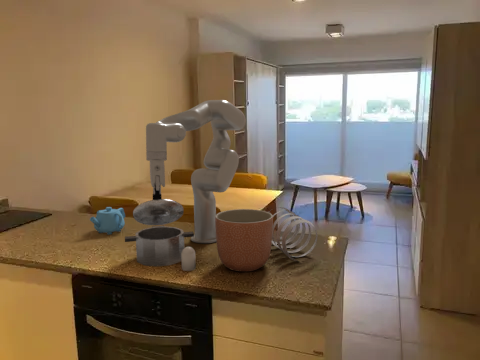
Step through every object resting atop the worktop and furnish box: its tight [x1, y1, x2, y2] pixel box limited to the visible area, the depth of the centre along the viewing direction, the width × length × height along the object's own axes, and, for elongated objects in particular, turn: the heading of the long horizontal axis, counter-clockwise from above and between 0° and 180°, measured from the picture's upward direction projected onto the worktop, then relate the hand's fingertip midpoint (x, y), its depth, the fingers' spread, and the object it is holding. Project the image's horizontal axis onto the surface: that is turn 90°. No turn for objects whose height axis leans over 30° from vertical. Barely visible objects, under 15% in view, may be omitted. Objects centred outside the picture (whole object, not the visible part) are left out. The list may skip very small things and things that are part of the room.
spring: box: [267, 206, 318, 262], centre depth 172 cm, size 16×16×30 cm
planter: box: [215, 208, 274, 272], centre depth 154 cm, size 21×21×19 cm
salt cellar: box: [181, 246, 196, 272], centre depth 153 cm, size 5×5×8 cm
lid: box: [132, 198, 184, 226], centre depth 165 cm, size 19×19×3 cm
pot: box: [124, 225, 195, 267], centre depth 165 cm, size 26×20×10 cm
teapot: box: [89, 206, 126, 236], centre depth 200 cm, size 20×17×12 cm
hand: (157, 204), depth 161 cm, fingers closed
